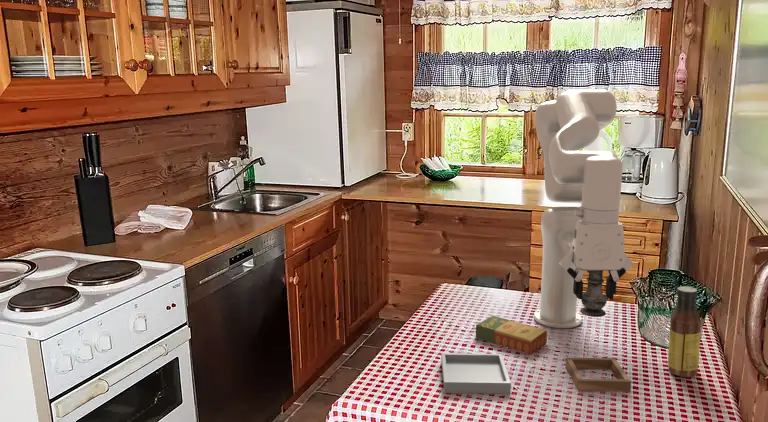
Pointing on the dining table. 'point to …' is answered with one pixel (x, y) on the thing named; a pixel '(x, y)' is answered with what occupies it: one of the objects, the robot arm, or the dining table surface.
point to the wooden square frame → (598, 384)
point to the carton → (512, 334)
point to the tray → (475, 373)
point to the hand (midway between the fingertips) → (593, 296)
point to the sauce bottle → (684, 335)
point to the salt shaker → (594, 296)
